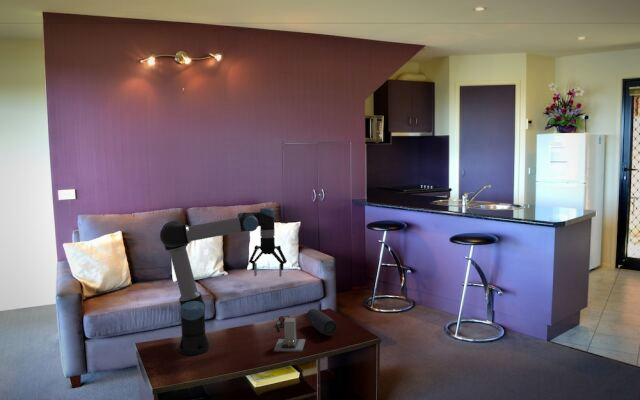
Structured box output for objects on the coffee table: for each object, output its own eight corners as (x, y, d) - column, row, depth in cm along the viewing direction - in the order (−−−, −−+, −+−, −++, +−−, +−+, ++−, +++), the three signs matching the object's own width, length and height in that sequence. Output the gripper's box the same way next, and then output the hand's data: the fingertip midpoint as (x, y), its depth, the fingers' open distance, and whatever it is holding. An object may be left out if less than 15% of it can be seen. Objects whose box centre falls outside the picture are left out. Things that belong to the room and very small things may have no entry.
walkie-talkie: (275, 320, 308) (277, 332, 288) (275, 313, 307) (277, 325, 288) (290, 319, 309) (293, 331, 289) (290, 312, 309) (293, 323, 289)
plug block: (284, 344, 266) (284, 321, 265) (286, 340, 272) (286, 317, 271) (294, 344, 266) (293, 321, 265) (296, 340, 272) (295, 317, 271)
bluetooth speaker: (305, 326, 296) (304, 309, 295) (320, 323, 300) (319, 306, 299) (322, 339, 276) (321, 320, 275) (338, 336, 279) (337, 318, 278)
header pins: (281, 348, 262) (281, 340, 261) (282, 346, 263) (281, 339, 263) (295, 348, 261) (295, 340, 261) (295, 347, 263) (295, 339, 262)
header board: (274, 351, 261) (274, 349, 261) (278, 340, 275) (278, 338, 275) (302, 351, 260) (302, 349, 260) (305, 341, 274) (305, 338, 273)
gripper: (291, 235, 284) (291, 274, 286) (246, 235, 286) (246, 273, 288) (289, 238, 277) (290, 277, 279) (243, 237, 279) (243, 277, 281)
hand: (268, 275), depth 283 cm, fingers open, 13 cm apart
